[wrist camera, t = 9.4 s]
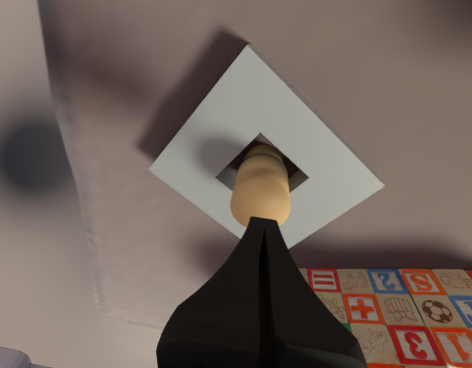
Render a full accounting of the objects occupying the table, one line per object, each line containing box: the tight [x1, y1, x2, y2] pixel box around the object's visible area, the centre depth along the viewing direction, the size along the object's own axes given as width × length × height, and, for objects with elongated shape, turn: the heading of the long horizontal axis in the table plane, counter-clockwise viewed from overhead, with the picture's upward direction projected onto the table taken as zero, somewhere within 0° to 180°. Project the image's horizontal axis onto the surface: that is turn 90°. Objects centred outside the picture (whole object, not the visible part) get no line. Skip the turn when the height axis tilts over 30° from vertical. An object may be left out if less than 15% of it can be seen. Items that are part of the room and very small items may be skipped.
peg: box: [230, 144, 291, 228], centre depth 19 cm, size 4×4×6 cm
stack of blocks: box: [299, 268, 472, 368], centre depth 23 cm, size 21×6×12 cm, turn 98°
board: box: [148, 43, 384, 249], centre depth 21 cm, size 14×12×2 cm
